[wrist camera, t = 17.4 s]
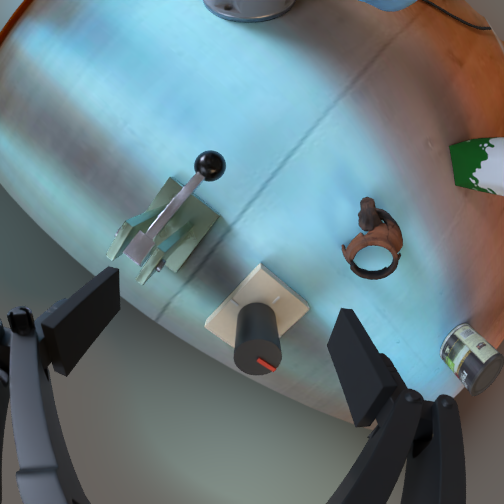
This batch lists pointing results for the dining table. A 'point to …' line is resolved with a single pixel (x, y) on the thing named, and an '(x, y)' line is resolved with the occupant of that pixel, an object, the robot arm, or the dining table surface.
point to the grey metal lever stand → (167, 230)
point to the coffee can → (471, 358)
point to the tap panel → (262, 291)
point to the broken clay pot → (375, 238)
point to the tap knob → (257, 340)
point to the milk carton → (479, 164)
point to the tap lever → (176, 205)
